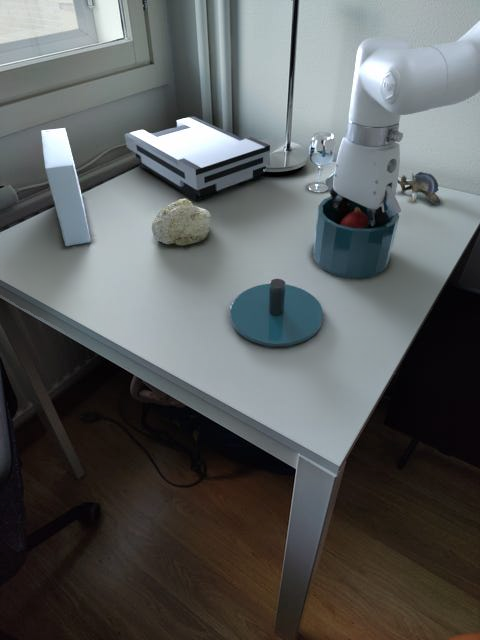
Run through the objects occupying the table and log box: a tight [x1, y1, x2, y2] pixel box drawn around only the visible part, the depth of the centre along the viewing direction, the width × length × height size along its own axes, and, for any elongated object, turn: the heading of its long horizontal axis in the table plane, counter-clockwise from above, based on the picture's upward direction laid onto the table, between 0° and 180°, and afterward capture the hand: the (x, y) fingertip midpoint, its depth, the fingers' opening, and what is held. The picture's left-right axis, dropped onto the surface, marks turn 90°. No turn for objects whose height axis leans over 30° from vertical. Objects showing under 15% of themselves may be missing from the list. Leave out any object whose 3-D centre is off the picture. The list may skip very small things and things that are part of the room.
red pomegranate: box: [340, 207, 369, 229], centre depth 82 cm, size 6×6×8 cm
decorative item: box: [151, 197, 212, 246], centre depth 90 cm, size 12×9×10 cm
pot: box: [313, 195, 400, 279], centre depth 83 cm, size 14×14×10 cm
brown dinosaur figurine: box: [397, 169, 441, 206], centre depth 101 cm, size 8×7×9 cm
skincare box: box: [40, 127, 92, 247], centre depth 93 cm, size 21×5×16 cm, turn 20°
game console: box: [124, 116, 271, 202], centre depth 114 cm, size 21×32×8 cm, turn 38°
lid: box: [229, 278, 324, 347], centre depth 71 cm, size 15×15×7 cm
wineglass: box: [308, 131, 336, 193], centre depth 104 cm, size 6×6×12 cm
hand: (354, 233), depth 83 cm, fingers closed on red pomegranate, 6 cm apart
